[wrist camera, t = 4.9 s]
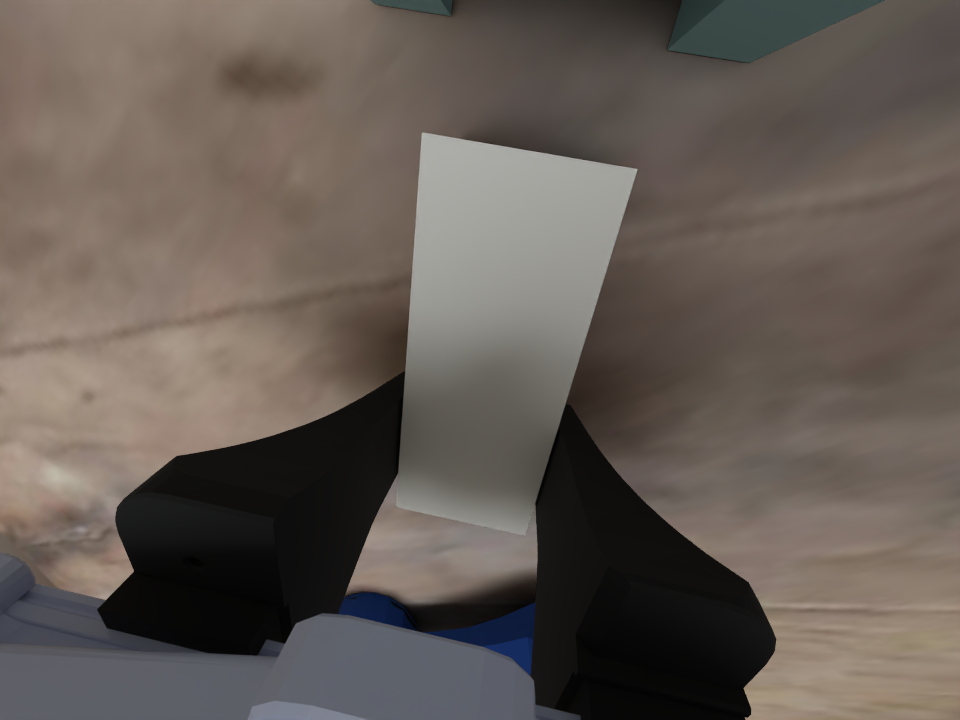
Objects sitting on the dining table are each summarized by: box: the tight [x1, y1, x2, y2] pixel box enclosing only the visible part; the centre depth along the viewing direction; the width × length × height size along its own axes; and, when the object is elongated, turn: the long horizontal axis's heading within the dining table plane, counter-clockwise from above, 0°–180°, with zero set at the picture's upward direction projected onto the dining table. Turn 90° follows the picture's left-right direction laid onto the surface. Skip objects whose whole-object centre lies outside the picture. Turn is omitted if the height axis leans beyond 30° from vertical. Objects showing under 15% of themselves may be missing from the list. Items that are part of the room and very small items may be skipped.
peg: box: [396, 133, 638, 536], centre depth 11 cm, size 10×4×4 cm, turn 171°
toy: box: [338, 593, 535, 675], centre depth 19 cm, size 7×6×15 cm
